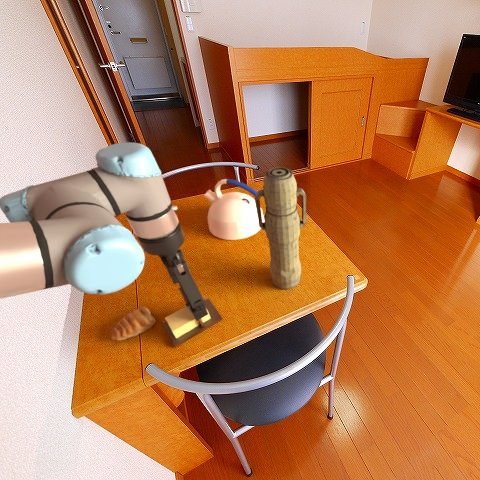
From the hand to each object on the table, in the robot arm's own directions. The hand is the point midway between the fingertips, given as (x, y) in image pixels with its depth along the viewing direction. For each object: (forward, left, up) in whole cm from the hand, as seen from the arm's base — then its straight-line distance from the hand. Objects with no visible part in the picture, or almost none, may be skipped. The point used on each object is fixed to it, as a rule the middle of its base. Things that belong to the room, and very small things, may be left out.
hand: (189, 297), depth 66 cm
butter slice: (+1, 0, -8) cm, 8 cm away
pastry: (-13, +8, -9) cm, 17 cm away
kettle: (+28, +31, -9) cm, 42 cm away
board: (-1, 0, -9) cm, 9 cm away
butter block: (-4, 0, -8) cm, 9 cm away
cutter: (0, 0, -8) cm, 8 cm away
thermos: (+26, -3, -9) cm, 27 cm away
